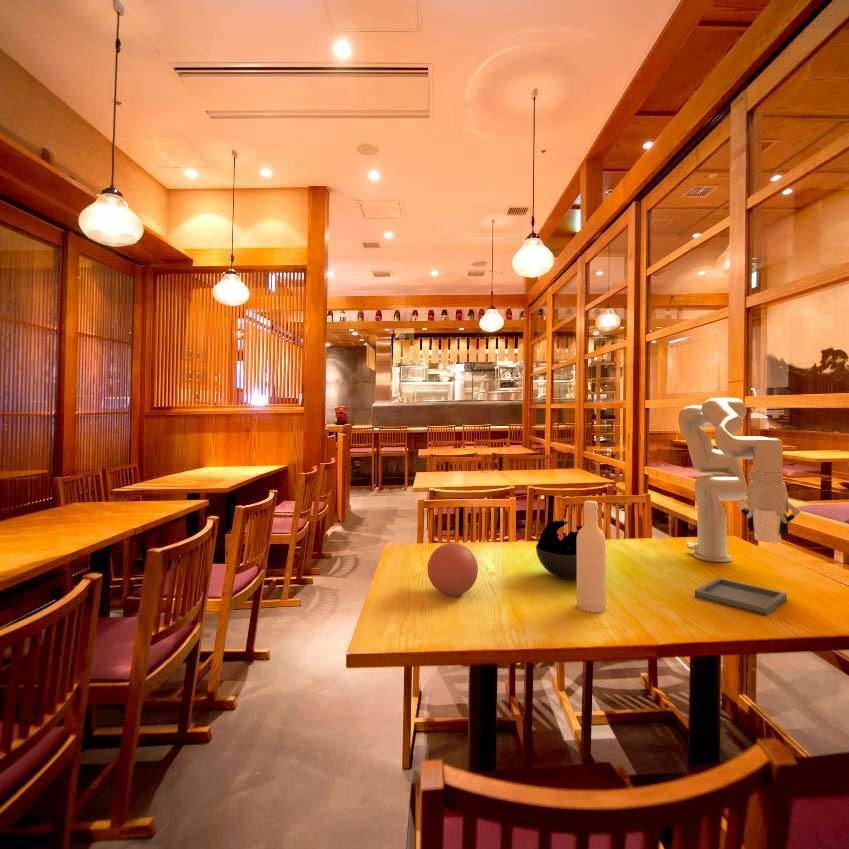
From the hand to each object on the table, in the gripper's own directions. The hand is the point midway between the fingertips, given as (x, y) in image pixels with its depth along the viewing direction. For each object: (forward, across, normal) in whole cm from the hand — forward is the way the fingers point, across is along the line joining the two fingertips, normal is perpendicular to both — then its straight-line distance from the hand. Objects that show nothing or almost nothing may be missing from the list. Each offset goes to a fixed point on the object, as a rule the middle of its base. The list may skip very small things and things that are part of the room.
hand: (767, 532), depth 150 cm
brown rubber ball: (+17, -61, -80) cm, 102 cm away
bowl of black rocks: (+17, -46, -41) cm, 64 cm away
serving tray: (+17, -2, -18) cm, 25 cm away
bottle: (+17, -26, -58) cm, 66 cm away
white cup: (+3, 0, 0) cm, 3 cm away
